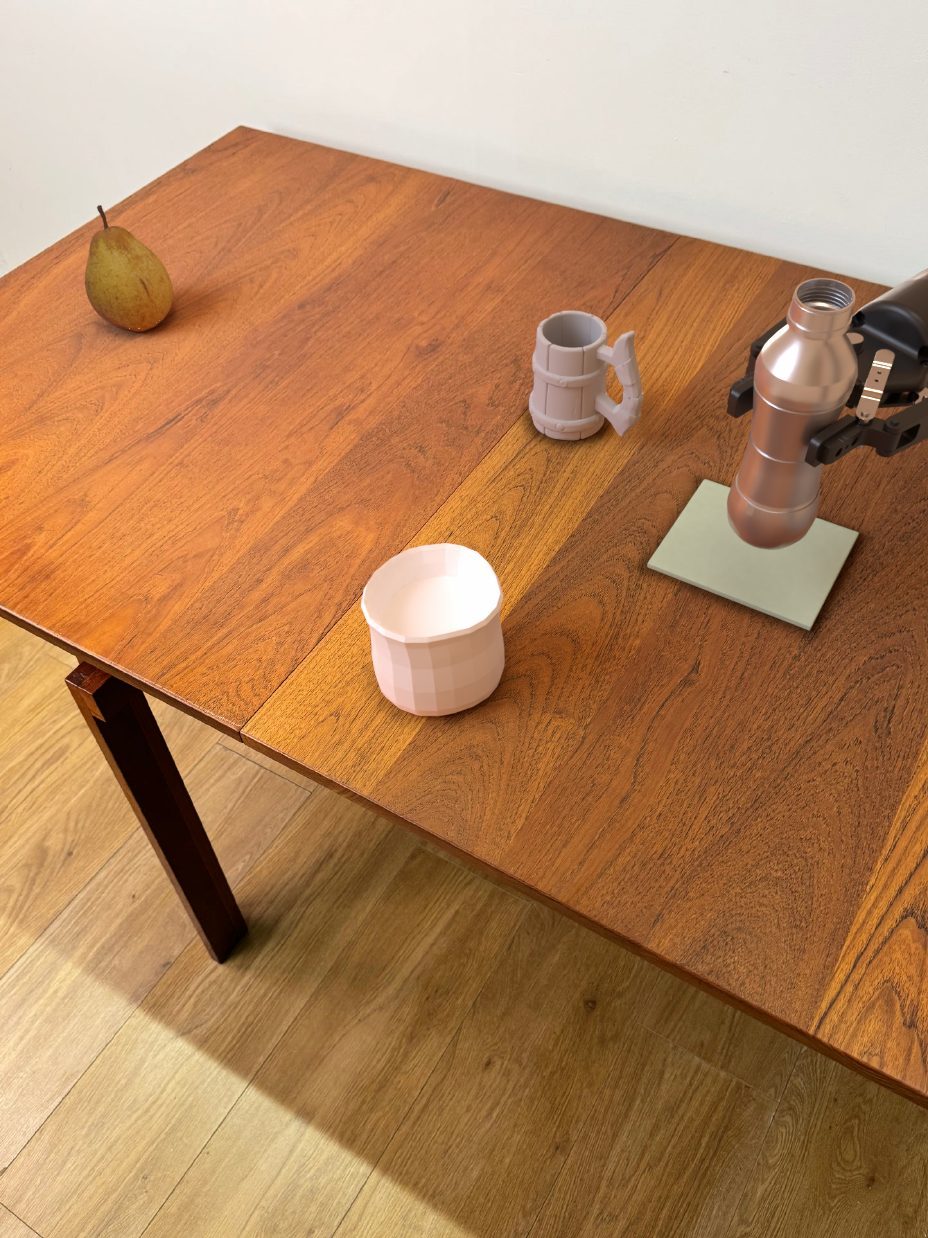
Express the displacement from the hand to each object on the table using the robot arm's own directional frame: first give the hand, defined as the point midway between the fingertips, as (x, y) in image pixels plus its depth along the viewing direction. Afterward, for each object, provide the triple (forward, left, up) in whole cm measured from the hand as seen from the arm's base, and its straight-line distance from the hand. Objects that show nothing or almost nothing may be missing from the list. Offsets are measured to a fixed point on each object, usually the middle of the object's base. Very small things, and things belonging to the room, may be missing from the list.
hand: (770, 428), depth 66 cm
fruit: (+73, -8, -19) cm, 76 cm away
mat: (+1, -7, -19) cm, 20 cm away
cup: (+17, +17, -19) cm, 30 cm away
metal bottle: (-1, -2, -11) cm, 11 cm away
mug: (+21, -15, -19) cm, 32 cm away
